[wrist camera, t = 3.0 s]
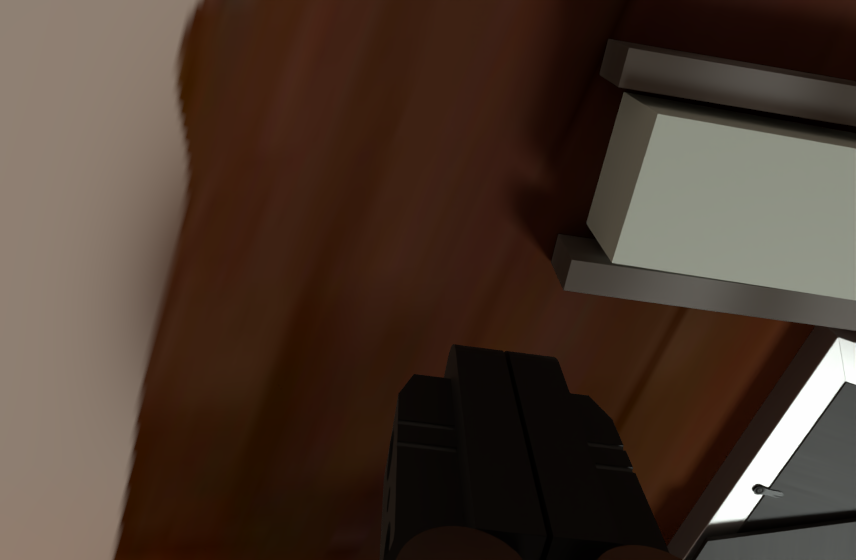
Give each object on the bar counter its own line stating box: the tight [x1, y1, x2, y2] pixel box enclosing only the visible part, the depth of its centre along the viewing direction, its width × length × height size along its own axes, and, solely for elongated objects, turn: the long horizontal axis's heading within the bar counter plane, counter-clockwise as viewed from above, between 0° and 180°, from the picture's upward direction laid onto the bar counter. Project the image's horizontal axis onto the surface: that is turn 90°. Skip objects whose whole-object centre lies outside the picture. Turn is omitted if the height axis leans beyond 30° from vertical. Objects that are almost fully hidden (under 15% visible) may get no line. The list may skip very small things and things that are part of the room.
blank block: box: [586, 92, 856, 300], centre depth 24 cm, size 10×5×4 cm, turn 80°
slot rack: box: [551, 39, 856, 331], centre depth 25 cm, size 16×8×2 cm, turn 81°
